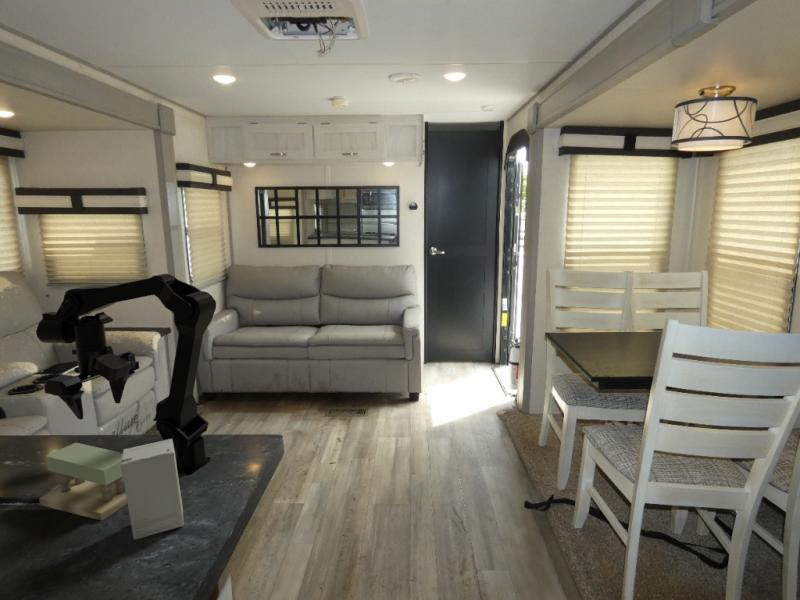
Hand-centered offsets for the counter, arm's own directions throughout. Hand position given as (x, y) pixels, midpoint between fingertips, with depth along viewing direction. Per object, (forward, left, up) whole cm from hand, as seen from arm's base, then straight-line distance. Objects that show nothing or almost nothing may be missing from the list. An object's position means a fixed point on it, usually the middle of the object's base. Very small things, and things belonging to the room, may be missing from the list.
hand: (100, 410), depth 107 cm
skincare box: (-30, +15, -12) cm, 36 cm away
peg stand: (-11, +12, -12) cm, 20 cm away
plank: (-11, +12, -6) cm, 17 cm away
